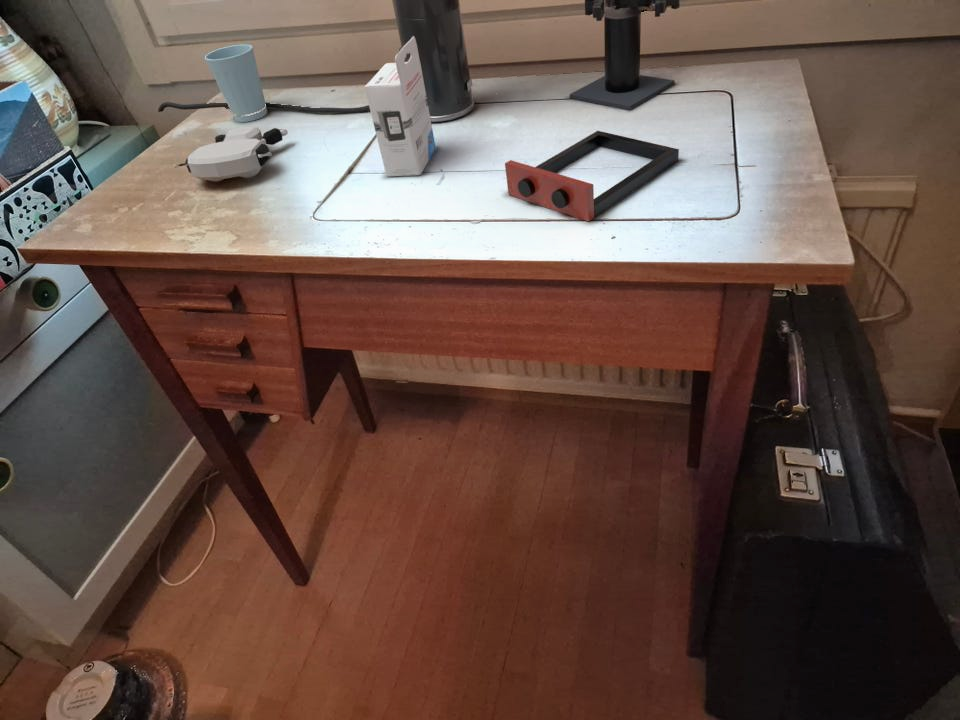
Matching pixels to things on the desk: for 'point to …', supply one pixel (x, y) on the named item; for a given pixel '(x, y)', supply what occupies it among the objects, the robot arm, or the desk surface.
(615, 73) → the can
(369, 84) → the ink box
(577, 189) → the stove
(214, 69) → the cup
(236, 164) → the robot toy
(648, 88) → the mat
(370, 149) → the desk surface
